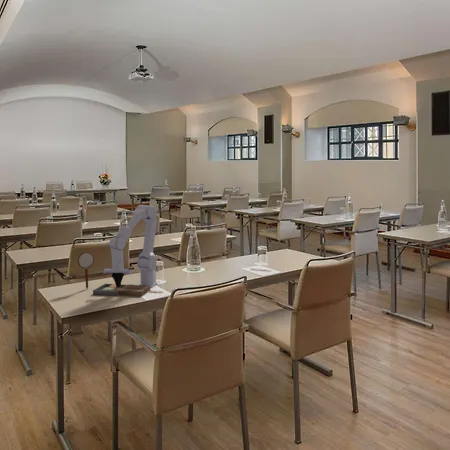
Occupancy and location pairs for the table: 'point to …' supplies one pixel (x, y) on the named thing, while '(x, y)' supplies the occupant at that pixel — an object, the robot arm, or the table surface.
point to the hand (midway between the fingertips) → (118, 287)
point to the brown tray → (133, 290)
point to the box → (100, 292)
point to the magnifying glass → (86, 263)
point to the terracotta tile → (115, 287)
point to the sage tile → (108, 289)
